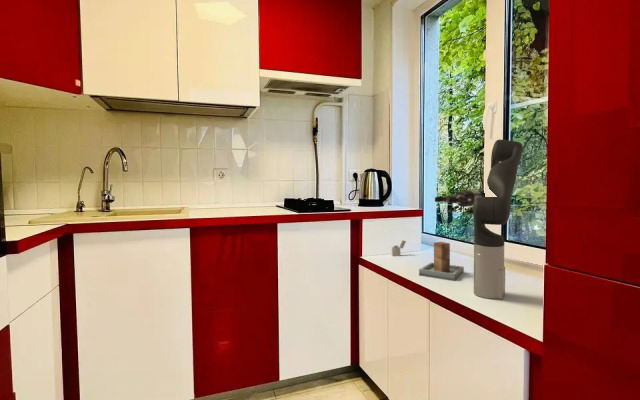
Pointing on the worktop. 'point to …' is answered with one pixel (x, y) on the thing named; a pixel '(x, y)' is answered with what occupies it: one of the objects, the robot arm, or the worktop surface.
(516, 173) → the robot arm
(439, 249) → the tall wooden block
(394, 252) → the lighter
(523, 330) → the worktop surface
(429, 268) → the tray
